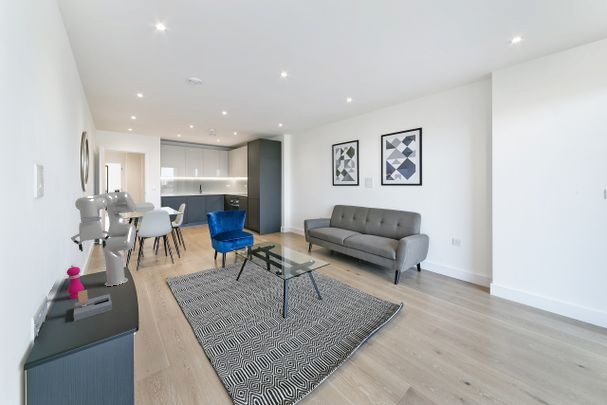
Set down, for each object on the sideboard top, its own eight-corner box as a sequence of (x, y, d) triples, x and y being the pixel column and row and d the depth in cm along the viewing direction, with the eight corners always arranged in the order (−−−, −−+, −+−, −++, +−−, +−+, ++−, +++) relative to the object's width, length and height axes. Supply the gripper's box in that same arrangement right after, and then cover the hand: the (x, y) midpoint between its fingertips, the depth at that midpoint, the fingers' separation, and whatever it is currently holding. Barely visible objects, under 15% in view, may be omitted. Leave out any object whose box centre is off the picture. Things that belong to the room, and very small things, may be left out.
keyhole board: (75, 308, 135) (74, 302, 134) (110, 299, 144) (109, 293, 144) (74, 321, 122) (73, 314, 122) (112, 309, 132) (111, 304, 131)
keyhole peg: (78, 311, 131) (76, 291, 130) (90, 308, 134) (88, 289, 133) (78, 315, 127) (76, 294, 127) (90, 311, 131) (88, 291, 130)
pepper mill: (66, 300, 145) (62, 267, 143) (71, 295, 151) (67, 264, 149) (82, 297, 148) (78, 265, 146) (86, 292, 154) (82, 261, 153)
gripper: (108, 217, 149) (111, 245, 150) (69, 221, 137) (72, 251, 139) (109, 218, 143) (112, 247, 144) (68, 222, 132) (72, 253, 133)
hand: (93, 249), depth 142 cm, fingers open, 9 cm apart
